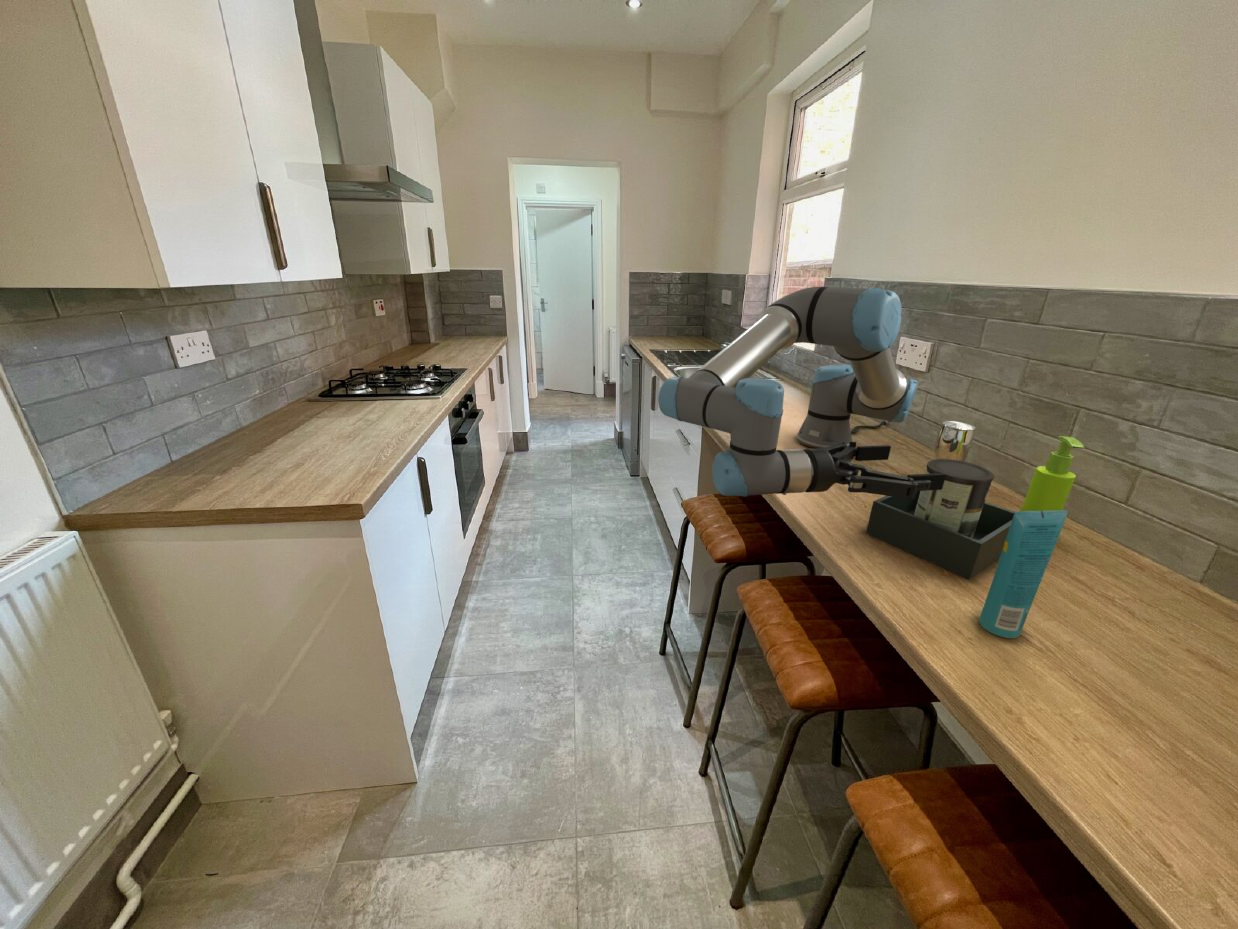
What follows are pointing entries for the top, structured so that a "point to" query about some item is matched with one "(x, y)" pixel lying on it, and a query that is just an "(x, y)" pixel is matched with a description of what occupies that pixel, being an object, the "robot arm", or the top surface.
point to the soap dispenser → (1052, 479)
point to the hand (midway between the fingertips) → (913, 465)
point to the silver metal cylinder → (954, 441)
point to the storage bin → (941, 535)
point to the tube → (1020, 570)
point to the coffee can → (955, 496)
